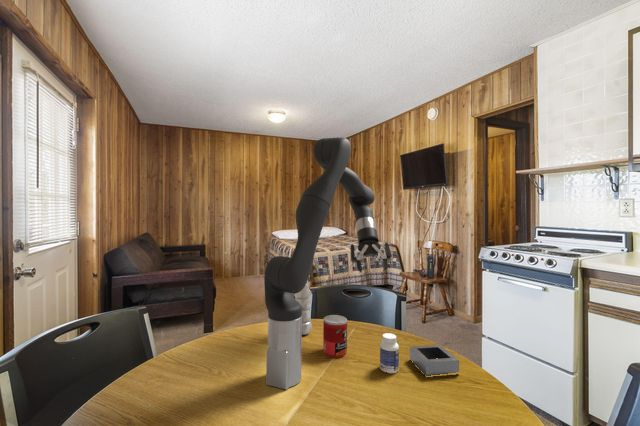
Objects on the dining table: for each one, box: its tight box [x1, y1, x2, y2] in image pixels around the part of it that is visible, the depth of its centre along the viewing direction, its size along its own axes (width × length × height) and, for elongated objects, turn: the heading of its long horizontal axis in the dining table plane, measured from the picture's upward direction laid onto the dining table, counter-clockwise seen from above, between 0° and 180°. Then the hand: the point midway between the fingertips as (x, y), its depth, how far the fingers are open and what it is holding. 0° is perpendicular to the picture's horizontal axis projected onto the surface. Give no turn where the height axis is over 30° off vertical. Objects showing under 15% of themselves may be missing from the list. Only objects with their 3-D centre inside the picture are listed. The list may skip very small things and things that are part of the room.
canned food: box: [322, 314, 348, 359], centre depth 97 cm, size 8×8×11 cm
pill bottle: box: [379, 332, 400, 374], centre depth 87 cm, size 5×5×10 cm
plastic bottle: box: [294, 280, 313, 336], centre depth 112 cm, size 6×7×20 cm
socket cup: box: [409, 344, 460, 376], centre depth 88 cm, size 10×10×4 cm
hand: (373, 271), depth 103 cm, fingers open, 8 cm apart
